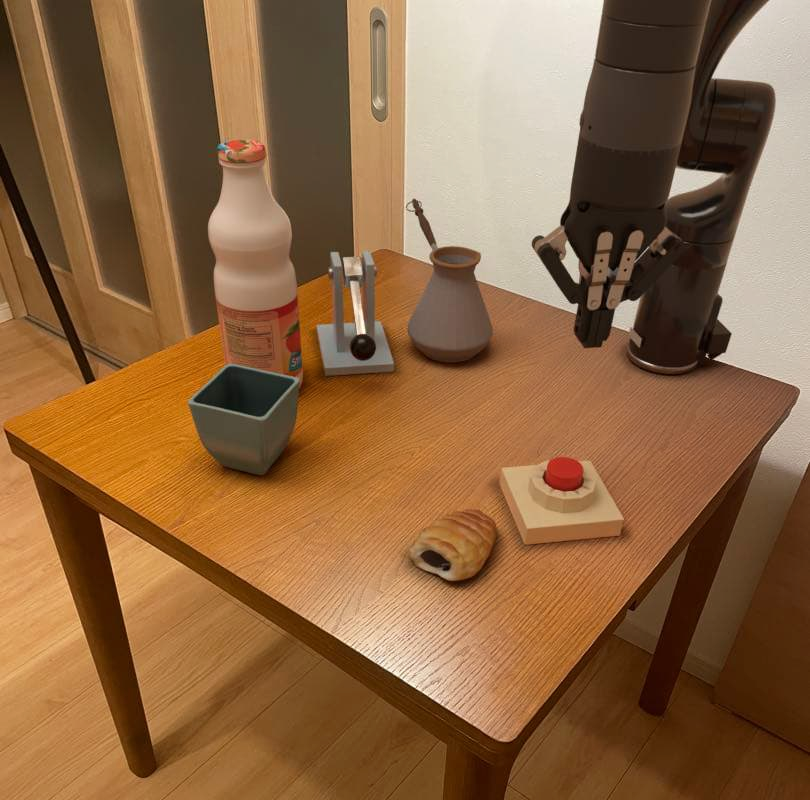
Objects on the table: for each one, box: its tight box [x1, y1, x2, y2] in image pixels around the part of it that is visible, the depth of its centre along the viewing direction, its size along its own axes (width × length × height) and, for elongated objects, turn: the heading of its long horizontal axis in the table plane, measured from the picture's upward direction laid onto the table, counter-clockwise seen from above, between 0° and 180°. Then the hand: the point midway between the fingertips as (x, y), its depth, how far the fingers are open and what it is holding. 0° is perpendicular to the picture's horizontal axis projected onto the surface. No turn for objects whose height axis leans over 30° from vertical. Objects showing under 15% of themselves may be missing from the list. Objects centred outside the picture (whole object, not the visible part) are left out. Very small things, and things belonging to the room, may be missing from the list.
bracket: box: [316, 250, 395, 377], centre depth 103 cm, size 12×9×13 cm
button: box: [545, 456, 584, 492], centre depth 80 cm, size 4×4×2 cm
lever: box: [342, 256, 376, 361], centre depth 98 cm, size 14×3×3 cm, turn 10°
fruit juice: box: [207, 138, 304, 389], centre depth 91 cm, size 9×9×28 cm
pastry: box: [408, 508, 498, 582], centre depth 77 cm, size 9×7×4 cm
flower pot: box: [187, 364, 300, 476], centre depth 86 cm, size 9×9×9 cm
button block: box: [498, 459, 625, 546], centre depth 82 cm, size 10×10×4 cm
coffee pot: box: [405, 198, 494, 363], centre depth 107 cm, size 21×12×15 cm, turn 20°
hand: (589, 343), depth 71 cm, fingers closed
